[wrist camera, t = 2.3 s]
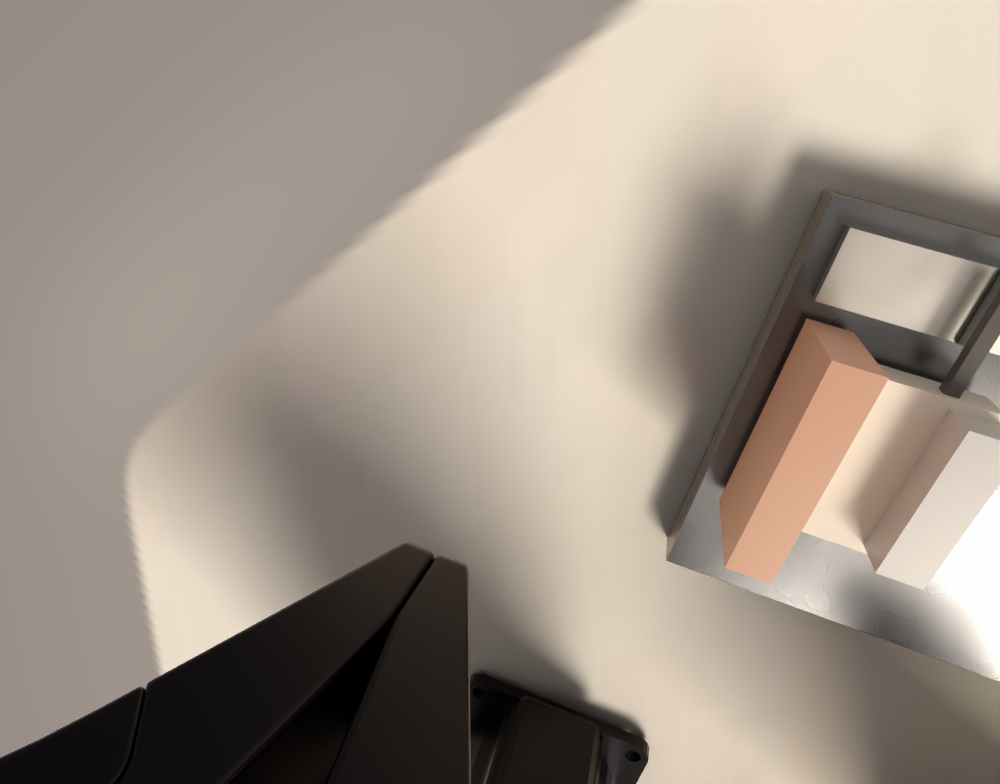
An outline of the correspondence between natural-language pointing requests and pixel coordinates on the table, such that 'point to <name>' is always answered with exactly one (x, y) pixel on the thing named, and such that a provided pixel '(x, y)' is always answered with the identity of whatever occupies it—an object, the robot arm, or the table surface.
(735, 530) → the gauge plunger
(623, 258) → the table surface
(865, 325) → the frame
